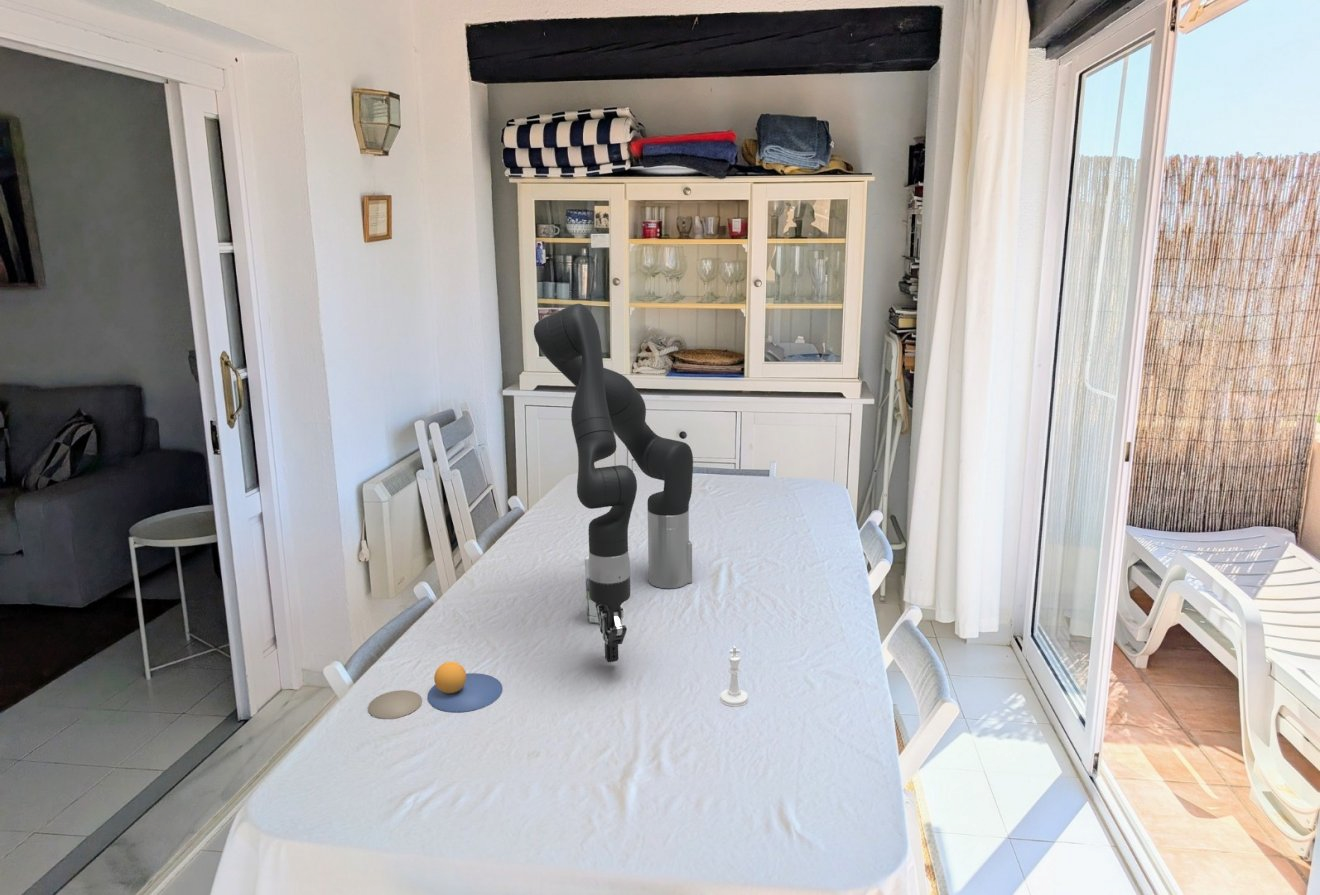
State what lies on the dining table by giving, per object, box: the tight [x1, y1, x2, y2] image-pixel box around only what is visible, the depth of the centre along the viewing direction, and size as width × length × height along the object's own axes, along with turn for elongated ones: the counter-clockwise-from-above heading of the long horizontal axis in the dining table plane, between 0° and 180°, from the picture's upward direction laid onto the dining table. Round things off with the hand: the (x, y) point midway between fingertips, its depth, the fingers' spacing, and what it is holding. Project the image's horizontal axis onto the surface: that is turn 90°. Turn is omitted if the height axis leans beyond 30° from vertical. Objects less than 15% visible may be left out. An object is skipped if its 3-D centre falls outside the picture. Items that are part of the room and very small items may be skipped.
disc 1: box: [367, 689, 423, 720], centre depth 158 cm, size 9×9×1 cm
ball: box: [433, 661, 467, 694], centre depth 162 cm, size 6×6×6 cm
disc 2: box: [427, 672, 503, 713], centre depth 162 cm, size 13×13×1 cm
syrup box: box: [584, 553, 622, 625], centre depth 188 cm, size 6×6×14 cm
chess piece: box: [719, 645, 749, 708], centre depth 158 cm, size 5×5×10 cm
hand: (611, 659), depth 170 cm, fingers closed
